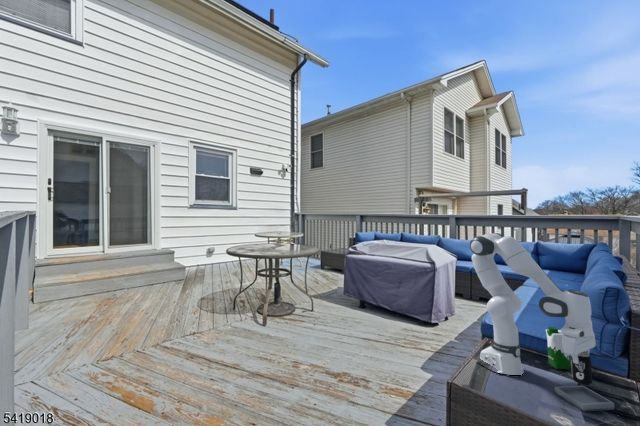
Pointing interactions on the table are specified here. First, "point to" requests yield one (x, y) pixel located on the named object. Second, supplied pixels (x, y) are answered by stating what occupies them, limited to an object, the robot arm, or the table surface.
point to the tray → (584, 398)
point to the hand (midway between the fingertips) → (580, 361)
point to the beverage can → (582, 369)
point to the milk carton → (557, 349)
